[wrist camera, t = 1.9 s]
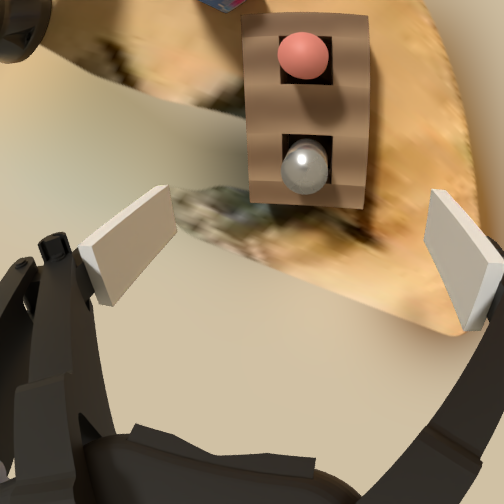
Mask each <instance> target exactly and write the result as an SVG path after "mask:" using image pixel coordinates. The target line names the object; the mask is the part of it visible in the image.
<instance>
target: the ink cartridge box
mask: <svg viewBox="0 0 504 504" xmlns="http://www.w3.org/2000/svg"><path fill="white" fill-rule="evenodd" d="M199 1H201V2H203V3H205V4H207V5H209V6H211V7H213V8H216V9H218V10H220V11H222V12H224V13H228V12H230V11H231V10H233V9H234V8H236V7H237V6H239V5H240V4H242V3H243V2H245V1H246V0H199Z"/></svg>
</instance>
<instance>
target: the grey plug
mask: <svg viewBox="0 0 504 504" xmlns="http://www.w3.org/2000/svg"><path fill="white" fill-rule="evenodd" d="M281 177H282V180H283V182H284V184H285V185H286V186H287V187H288V188H289V189H290V190H292V191H293V192H295V193H298V194H303V195H308V194H313V193H315V192H317V191H319V190H320V189H321V188H322V187H323V186H324V185H325V183H326V181H327V177H328V162H327V153H326V150H325V148H324V147H323V146H322V145H321V144H320V143H319V142H318V141H316V140H313V139H308V138H306V139H300V140H298V141H296V142H295V143H294V144H293V145H292V146H291V147H290V149H289V151H288V153H287V155H286V157H285V159H284V161H283V163H282V166H281Z"/></svg>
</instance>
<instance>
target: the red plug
mask: <svg viewBox="0 0 504 504" xmlns="http://www.w3.org/2000/svg"><path fill="white" fill-rule="evenodd" d="M328 58H329V55H328V50H327V47H326V45H325V44H324V42H323V41H322V40H321V39H320V38H318V37H317V36H315V35H313V34H311V33H306V32H298V33H293V34H291V35H289V36H287V37H286V38H285V39H284V40H283V41H282V42H281V44H280V46H279V48H278V60H279V63H280V65H281V67H282V68H283V69H284V70H285V71H286V72H287V73H288V74H290V75H292V76H294V77H297V78H301V79H314V78H317V77H319V76H320V75H321V74H322V73H323V72H324V71H325V69H326V67H327V63H328Z"/></svg>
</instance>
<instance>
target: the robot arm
mask: <svg viewBox="0 0 504 504" xmlns="http://www.w3.org/2000/svg"><path fill="white" fill-rule="evenodd" d="M50 12H51V0H0V62H1V63H6V64H9V63H17V62H21V61H23V60H25V59H27V58H28V57H29V56H30V55H31V54H32V53H33V52H34V51H35V49H36V48H37V47H38V45H39V43H40V42H41V40H42V38H43V36H44V34H45V31H46V28H47V25H48V22H49V18H50ZM176 233H177V227H176V222H175V217H174V212H173V206H172V201H171V195H170V190H169V185H157V186H155V187H153V188H152V189H151V190H149V191H148V192H146V193H145V194H144V195H142V196H141V197H139V198H138V199H137V200H135V201H134V202H133V203H131V204H130V205H129V206H127V207H126V208H125V209H123V210H122V211H121V212H119V213H118V214H117V215H115V216H114V217H113V218H111V219H110V220H109V221H107V222H106V223H105V224H104V225H102V226H101V227H100V228H99V229H97V230H96V231H95V232H94V233H92V234H91V235H90V236H89V237H87V238H86V239H85V240H84V241H82V242H81V243H80V244H79V245H78V248H77V249H75V250H74V251H73V252H72V251H71V248H70V245H69V242H68V239H67V236H66V233H64V232H58V233H54V234H51V235H49V236H47V237H45V238H44V239H42V240H41V241H40V242H39V243H38V247H39V250H40V253H41V255H42V258H43V260H44V266H38V267H37V266H36V263H35V261H34V259H33V257H25V258H20V259H18V260H17V261H16V262H15V263H14V264H13V265H12V266H11V267H10V268H9V270H8V271H7V273H6V274H5V276H4V277H3V279H2V280H1V281H0V504H459V503H460V502H461V500H462V499H463V497H464V496H465V494H466V493H467V491H468V490H469V488H470V486H471V485H472V483H473V482H474V480H475V479H476V477H477V475H478V473H479V471H480V469H481V467H482V463H483V462H482V461H481V460H480V458H481V456H482V454H483V452H484V450H485V448H486V446H487V444H488V442H489V441H490V439H491V437H492V435H493V433H494V431H495V429H496V427H497V425H498V423H499V421H500V418H501V416H502V414H503V412H504V251H502V248H501V247H500V246H499V245H498V244H497V242H495V241H494V240H493V239H491V238H490V237H489V236H485V235H484V233H483V232H482V231H481V230H480V229H479V227H478V226H477V225H476V224H475V223H474V221H473V220H472V219H471V218H470V217H469V216H468V215H467V213H466V212H465V211H464V210H463V209H462V208H461V207H460V206H459V204H458V203H457V202H456V201H455V200H454V199H453V198H452V197H451V196H450V195H449V194H448V193H447V191H446V190H438V189H431V195H430V203H429V210H428V217H427V223H426V229H425V235H424V242H425V244H426V246H427V248H428V250H429V252H430V254H431V256H432V259H433V261H434V263H435V265H436V267H437V269H438V271H439V273H440V276H441V278H442V280H443V282H444V285H445V287H446V289H447V291H448V294H449V296H450V298H451V301H452V303H453V306H454V308H455V311H456V313H457V316H458V318H459V321H460V323H461V326H462V329H463V331H481V329H482V327H483V325H484V322H485V320H486V318H488V320H489V326H488V328H487V329H486V332H485V333H484V335H483V337H482V339H481V341H480V343H479V345H478V347H477V349H476V351H475V352H474V354H473V356H472V357H471V359H470V361H469V363H468V364H467V366H466V368H465V369H464V371H463V373H462V375H461V376H460V378H459V379H458V381H457V383H456V384H455V386H454V387H453V389H452V391H451V392H450V393H449V395H448V396H447V398H446V399H445V401H444V402H443V404H442V406H441V407H440V408H439V410H438V411H437V412H436V414H435V415H434V417H433V418H432V419H431V421H430V422H429V423H428V425H427V426H425V427H424V429H423V430H422V431H421V432H420V433H419V435H418V436H417V437H416V438H415V440H414V441H413V442H412V444H411V445H410V446H409V447H408V448H407V449H406V451H405V452H404V453H403V454H402V456H400V458H399V459H398V460H397V461H396V462H395V463H394V464H393V465H392V467H391V468H390V469H389V470H388V471H387V472H386V473H385V474H384V475H383V476H382V477H381V478H380V479H379V481H378V482H377V483H376V484H375V485H374V486H373V487H372V488H371V489H370V490H369V491H368V492H367V493H366V494H365V495H363V496H361V495H360V494H359V493H358V492H357V491H355V490H354V489H353V488H352V487H351V486H349V485H348V484H347V483H345V482H344V481H342V480H340V479H338V478H337V477H335V476H332V475H330V474H328V473H326V472H323V471H320V470H317V469H314V468H315V461H316V458H310V457H298V456H288V455H278V454H270V453H263V454H249V455H225V456H217V455H213V454H210V453H208V452H206V451H204V450H202V449H200V448H198V447H196V446H194V445H192V444H190V443H188V442H186V441H184V440H183V439H181V438H179V437H177V436H175V435H173V434H169V433H166V432H162V431H159V430H155V429H152V428H149V427H145V426H142V425H139V424H135V425H134V427H133V429H132V431H131V433H130V434H116V432H115V428H114V424H113V421H112V417H111V412H110V408H109V403H108V399H107V394H106V390H105V384H104V379H103V375H102V369H101V363H100V357H99V351H98V344H97V337H96V330H95V322H94V314H93V305H92V303H91V300H90V297H91V296H92V295H93V293H94V292H95V295H96V297H97V300H98V302H99V304H101V305H106V306H112V307H113V306H114V305H115V304H116V302H117V301H118V300H119V299H120V297H122V295H123V294H124V293H125V292H126V291H127V289H128V288H129V287H130V286H131V284H132V283H133V282H134V281H135V280H136V279H137V277H138V276H139V275H140V274H141V273H142V272H143V270H144V269H145V268H146V267H147V266H148V265H149V264H150V262H151V261H152V260H153V259H154V258H155V257H156V255H157V254H158V253H159V252H160V251H161V250H162V249H163V248H164V246H165V245H166V244H167V243H168V242H169V241H170V240H171V239H172V237H173V236H174V235H175V234H176ZM23 301H24V303H25V305H26V307H27V311H26V309H25V307H24V304H23ZM13 459H14V460H15V475H16V477H15V478H13V479H9V478H8V477H7V476H8V474H9V471H10V469H11V465H12V462H13Z"/></svg>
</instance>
